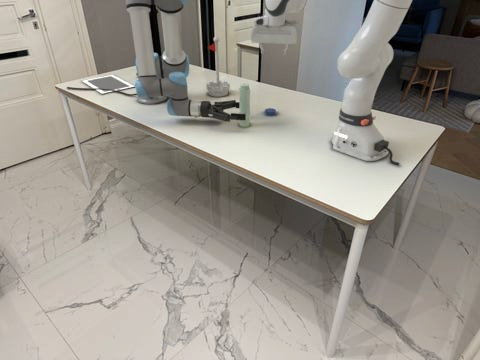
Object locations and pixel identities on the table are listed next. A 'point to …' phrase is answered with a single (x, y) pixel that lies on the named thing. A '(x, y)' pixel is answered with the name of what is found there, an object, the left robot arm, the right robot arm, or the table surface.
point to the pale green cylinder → (244, 104)
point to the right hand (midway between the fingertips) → (273, 53)
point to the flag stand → (217, 76)
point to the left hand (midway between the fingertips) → (247, 111)
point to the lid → (270, 112)
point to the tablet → (108, 84)
